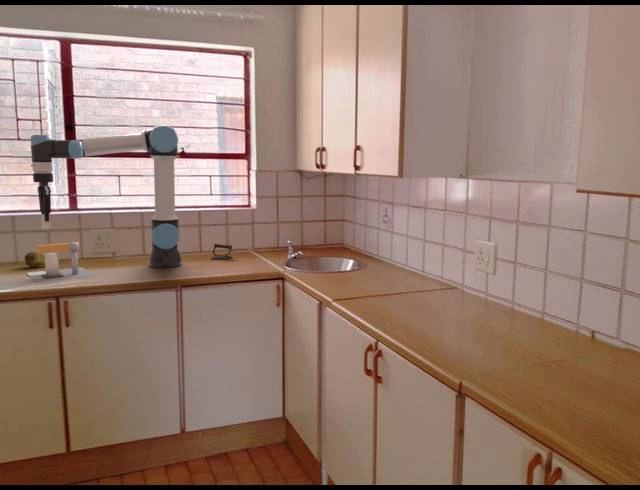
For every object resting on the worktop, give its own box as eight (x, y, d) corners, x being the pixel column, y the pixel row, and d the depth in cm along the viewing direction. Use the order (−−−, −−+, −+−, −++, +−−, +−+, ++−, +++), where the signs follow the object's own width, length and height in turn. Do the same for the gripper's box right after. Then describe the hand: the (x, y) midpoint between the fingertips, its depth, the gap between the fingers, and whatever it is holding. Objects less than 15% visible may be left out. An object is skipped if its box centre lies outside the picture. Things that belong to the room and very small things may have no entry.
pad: (44, 271, 242) (44, 270, 242) (48, 274, 237) (47, 273, 237) (26, 273, 238) (26, 272, 238) (29, 276, 233) (29, 275, 233)
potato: (58, 268, 254) (57, 251, 253) (27, 272, 246) (26, 254, 245) (53, 265, 261) (52, 248, 259) (23, 268, 253) (21, 251, 251)
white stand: (82, 269, 253) (81, 245, 252) (95, 278, 237) (94, 252, 235) (26, 275, 240) (24, 250, 238) (36, 285, 223) (34, 258, 221)
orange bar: (77, 248, 241) (77, 241, 240) (80, 250, 238) (79, 243, 237) (36, 252, 231) (36, 245, 231) (38, 253, 228) (38, 246, 228)
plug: (57, 273, 238) (56, 252, 236) (60, 275, 234) (58, 254, 232) (45, 274, 235) (43, 253, 233) (47, 276, 231) (46, 255, 230)
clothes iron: (213, 258, 286) (218, 240, 285) (234, 265, 284) (239, 246, 283) (208, 260, 279) (213, 240, 278) (230, 266, 277) (235, 247, 276)
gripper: (29, 172, 235) (33, 227, 239) (36, 173, 224) (40, 231, 228) (48, 171, 240) (52, 226, 244) (56, 173, 229) (60, 230, 233)
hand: (46, 228), depth 236 cm, fingers closed
